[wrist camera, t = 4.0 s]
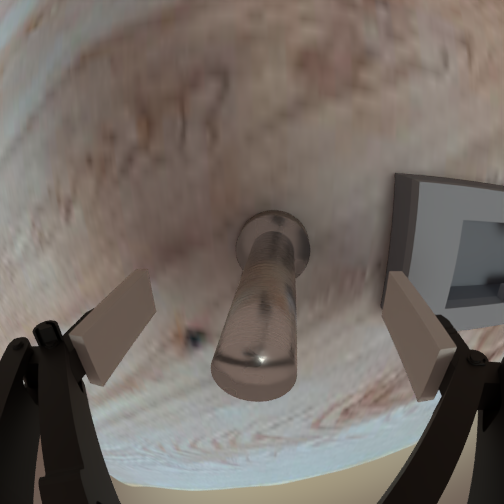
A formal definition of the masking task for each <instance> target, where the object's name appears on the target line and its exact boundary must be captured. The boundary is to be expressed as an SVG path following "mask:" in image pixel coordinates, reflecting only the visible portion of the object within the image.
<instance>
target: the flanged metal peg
mask: <svg viewBox="0 0 504 504" xmlns="http://www.w3.org/2000/svg"><path fill="white" fill-rule="evenodd" d="M236 256H237V260H238V263H239V265H240V267H241V268H242V270H243V273H242V276H241V279H240V282H239V285H238V288H237V291H236V293H235V296H234V299H233V302H232V305H231V308H230V311H229V314H228V317H227V319H226V322H225V325H224V328H223V331H222V334H221V337H220V340H219V342H218V345H217V348H216V351H215V354H214V357H213V360H212V363H211V373H212V376H213V378H214V380H215V382H216V383H217V384H218V386H219V387H220V388H221V389H223V390H224V391H225V392H227V393H228V394H230V395H232V396H234V397H236V398H239V399H243V400H247V401H256V402H260V401H269V400H273V399H276V398H279V397H281V396H283V395H285V394H286V393H287V392H289V391H290V390H291V388H292V387H293V386H294V384H295V382H296V378H297V321H296V281H295V278H297V277H298V276H299V275H300V274H301V273H302V272H303V271H304V269H305V268H306V266H307V264H308V261H309V257H310V245H309V239H308V235H307V232H306V230H305V228H304V226H303V225H302V223H301V222H300V221H299V220H298V219H297V218H295V217H294V216H292V215H291V214H289V213H286V212H283V211H278V210H269V211H264V212H261V213H258V214H257V215H255V216H253V217H252V218H251V219H250V220H249V221H248V222H247V223H246V224H245V226H244V227H243V229H242V231H241V233H240V235H239V237H238V239H237V243H236Z"/></svg>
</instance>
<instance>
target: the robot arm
mask: <svg viewBox="0 0 504 504" xmlns="http://www.w3.org/2000/svg"><path fill="white" fill-rule="evenodd" d="M155 313H156V308H155V303H154V299H153V294H152V289H151V284H150V279H149V273H148V269H136V270H135V271H134V272H133V273H131V274H130V275H129V276H128V277H127V278H126V279H125V280H124V281H123V282H122V283H121V284H120V285H119V286H117V287H116V288H115V289H114V290H113V291H112V292H111V293H110V294H109V295H108V296H107V297H106V298H105V299H104V300H103V301H102V302H101V303H100V304H98V305H97V306H96V307H95V308H93V309H92V310H90V311H88V312H86V313H85V314H84V315H83V316H82V317H81V318H80V319H79V320H78V321H77V322H76V324H74V325H73V326H72V327H71V328H70V329H69V330H68V331H67V332H66V333H65V334H64V335H63V336H62V334H61V331H60V328H59V326H58V323H57V322H56V321H52V320H49V321H45V322H42V323H40V324H38V325H37V326H36V327H35V328H34V329H33V334H34V336H35V339H36V341H37V343H38V345H39V346H31V344H30V342H29V340H28V339H27V338H26V337H20V338H16V339H14V340H13V341H12V342H10V344H9V345H8V346H7V348H6V350H5V352H4V354H3V356H2V358H1V361H0V504H33V495H34V480H35V469H36V460H37V452H38V445H39V438H40V435H41V445H42V452H43V460H44V466H45V473H46V475H45V477H40V479H39V490H40V495H41V500H42V504H121V503H120V501H119V499H118V496H117V494H116V491H115V489H114V486H113V484H112V481H111V478H110V476H109V473H108V470H107V467H106V464H105V461H104V458H103V455H102V452H101V449H100V445H99V442H98V439H97V435H96V431H95V428H94V424H93V420H92V416H91V412H90V408H89V403H88V399H87V394H86V389H85V384H84V382H83V380H82V378H83V376H84V375H85V374H86V375H87V377H88V379H89V381H90V383H92V384H95V385H99V386H104V385H105V383H106V382H107V380H108V379H109V378H110V376H111V375H112V373H113V372H114V370H115V369H116V367H117V366H118V364H119V363H120V362H121V360H122V359H123V357H124V356H125V354H126V353H127V352H128V350H129V349H130V347H131V346H132V345H133V343H134V342H135V340H136V339H137V337H138V336H139V335H140V333H141V332H142V331H143V329H144V328H145V326H146V325H147V324H148V322H149V321H150V319H151V318H152V317H153V315H154V314H155ZM382 318H383V320H384V322H385V324H386V327H387V329H388V331H389V333H390V335H391V338H392V340H393V342H394V345H395V347H396V349H397V351H398V354H399V356H400V359H401V361H402V363H403V366H404V368H405V371H406V373H407V376H408V378H409V381H410V383H411V386H412V388H413V391H414V393H415V396H416V399H417V401H418V402H422V401H428V400H433V399H434V398H435V396H436V394H437V392H438V390H439V391H440V393H441V395H442V397H441V399H440V401H439V403H438V404H437V406H436V408H435V410H434V412H433V415H432V417H431V419H430V421H429V423H428V425H427V427H426V429H425V430H424V432H423V434H422V436H421V438H420V439H419V441H418V443H417V445H416V447H415V448H414V450H413V451H412V453H411V455H410V456H409V458H408V460H407V461H406V463H405V465H404V466H403V468H402V469H401V471H400V472H399V474H398V475H397V477H396V478H395V480H394V481H393V482H392V484H391V485H390V487H389V488H388V489H387V491H386V492H385V494H384V495H383V496H382V497H381V499H380V500H379V501H378V503H377V504H437V503H438V501H439V499H440V497H441V495H442V493H443V491H444V489H445V488H446V486H447V484H448V482H449V480H450V477H451V475H452V473H453V471H454V469H455V466H456V464H457V462H458V460H459V457H460V455H461V453H462V450H463V448H464V445H465V443H466V440H467V437H468V435H469V432H470V429H471V426H472V424H473V421H474V417H475V414H476V411H477V410H478V427H477V442H476V453H475V462H474V469H473V476H472V482H471V487H470V493H469V498H468V502H467V504H504V357H503V359H502V361H501V363H500V362H488V359H487V357H486V356H485V355H484V354H483V353H481V352H479V351H477V350H470V349H469V348H468V346H467V345H466V343H465V342H464V340H463V339H462V338H461V336H460V335H459V333H457V331H456V329H455V328H454V326H453V325H452V324H451V322H450V321H449V320H448V319H447V318H445V317H444V316H442V315H441V314H440V315H435V314H434V313H433V311H432V310H431V309H430V307H429V306H428V305H427V303H426V302H425V301H424V299H423V298H422V296H421V295H420V294H419V292H418V291H417V290H416V288H415V287H414V286H413V285H412V283H411V282H410V281H409V279H408V278H407V277H406V276H405V274H404V273H403V272H402V271H389V276H388V283H387V289H386V295H385V300H384V306H383V311H382ZM23 380H24V382H25V384H23Z"/></svg>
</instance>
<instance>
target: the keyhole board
mask: <svg viewBox="0 0 504 504" xmlns="http://www.w3.org/2000/svg"><path fill="white" fill-rule="evenodd" d="M389 271H402V272H403V273H404V274H405V276H406V277H407V278H408V279H409V281H410V282H411V283H412V285H413V286H414V287H415V288H416V290H417V291H418V292H419V294H420V295H421V296H422V298H423V299H424V301H425V302H426V303H427V305H428V306H429V307H430V309H431V310H432V311H433V313H434V314H435V315H440V314H441V315H442V316H444V317H445V318H447V319H448V320H449V321H450V322H451V324H452V325H453V326H454V328H455V329H456V331H462V330H470V329H477V328H483V327H489V326H496V325H501V324H504V186H500V185H494V184H487V183H481V182H474V181H467V180H459V179H451V178H442V177H433V176H423V175H412V174H399V173H395V191H394V207H393V219H392V230H391V240H390V248H389V257H388V264H387V271H386V278H385V284H384V290H383V296H382V302H381V308H382V310H383V306H384V300H385V295H386V289H387V283H388V276H389Z"/></svg>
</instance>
